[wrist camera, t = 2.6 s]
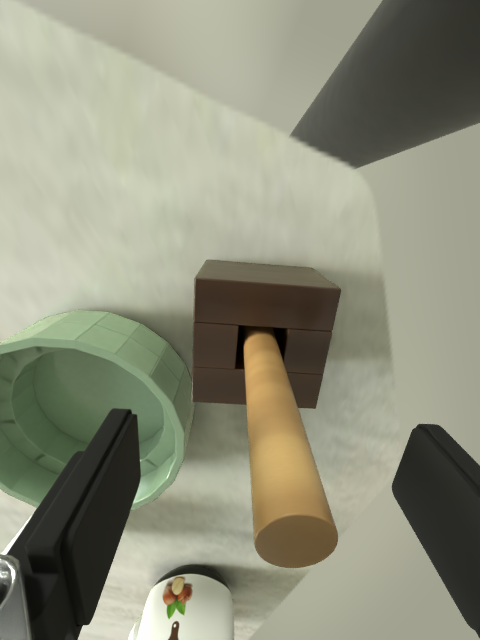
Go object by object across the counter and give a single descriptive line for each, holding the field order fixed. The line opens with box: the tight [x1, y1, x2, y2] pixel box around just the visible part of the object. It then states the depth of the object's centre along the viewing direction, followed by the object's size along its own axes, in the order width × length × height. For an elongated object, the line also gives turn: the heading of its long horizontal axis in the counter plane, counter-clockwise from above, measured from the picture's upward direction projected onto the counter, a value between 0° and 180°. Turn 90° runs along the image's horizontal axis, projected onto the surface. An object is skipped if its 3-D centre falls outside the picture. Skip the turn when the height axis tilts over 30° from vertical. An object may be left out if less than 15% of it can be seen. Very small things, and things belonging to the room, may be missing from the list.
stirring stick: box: [242, 325, 338, 568], centre depth 14 cm, size 2×2×16 cm
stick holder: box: [192, 260, 341, 409], centre depth 19 cm, size 8×8×6 cm
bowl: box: [0, 310, 194, 511], centre depth 21 cm, size 15×15×6 cm
